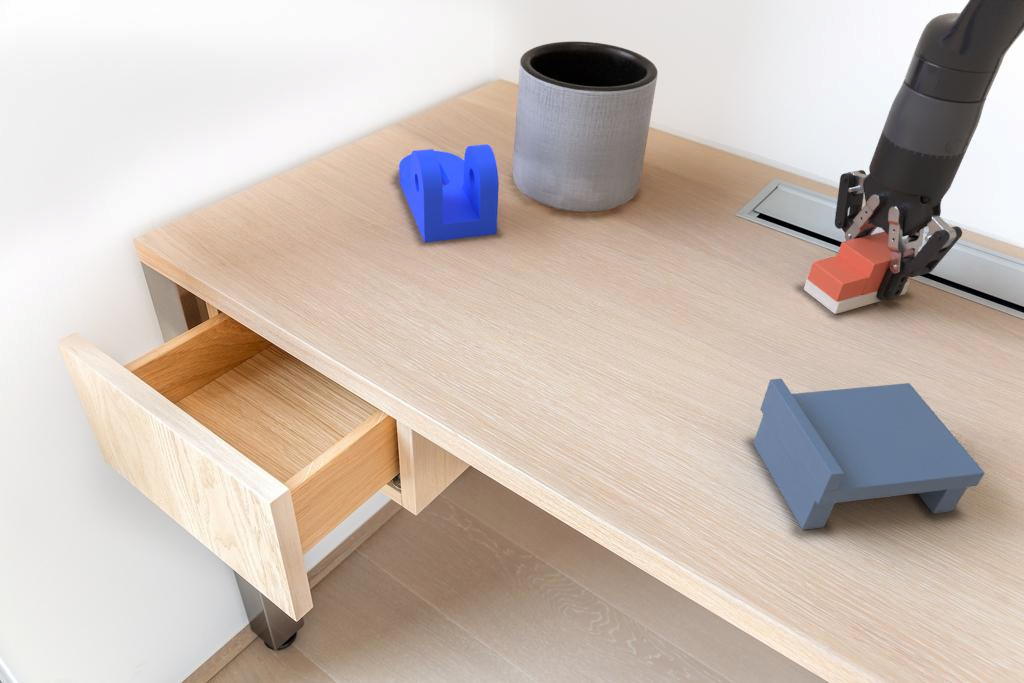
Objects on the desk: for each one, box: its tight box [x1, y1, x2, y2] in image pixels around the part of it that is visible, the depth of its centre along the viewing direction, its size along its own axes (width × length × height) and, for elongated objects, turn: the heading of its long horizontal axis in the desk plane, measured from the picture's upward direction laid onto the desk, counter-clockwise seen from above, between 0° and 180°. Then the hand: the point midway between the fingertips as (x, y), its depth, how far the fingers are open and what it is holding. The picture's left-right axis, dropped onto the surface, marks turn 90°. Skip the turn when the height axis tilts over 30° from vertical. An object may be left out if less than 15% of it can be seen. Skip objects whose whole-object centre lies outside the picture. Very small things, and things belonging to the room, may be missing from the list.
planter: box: [511, 40, 659, 214], centre depth 95 cm, size 16×16×16 cm
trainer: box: [803, 230, 911, 315], centre depth 83 cm, size 10×5×5 cm, turn 115°
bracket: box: [398, 144, 500, 243], centre depth 93 cm, size 18×8×9 cm, turn 17°
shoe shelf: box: [753, 378, 986, 531], centre depth 62 cm, size 13×10×7 cm
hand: (865, 283), depth 85 cm, fingers closed on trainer, 4 cm apart
